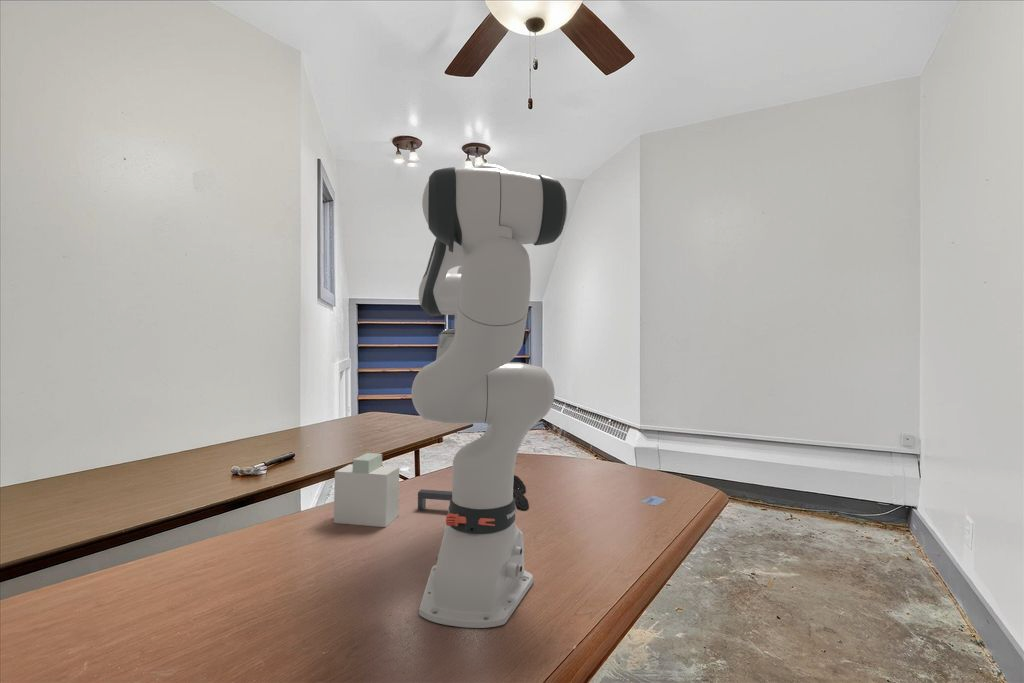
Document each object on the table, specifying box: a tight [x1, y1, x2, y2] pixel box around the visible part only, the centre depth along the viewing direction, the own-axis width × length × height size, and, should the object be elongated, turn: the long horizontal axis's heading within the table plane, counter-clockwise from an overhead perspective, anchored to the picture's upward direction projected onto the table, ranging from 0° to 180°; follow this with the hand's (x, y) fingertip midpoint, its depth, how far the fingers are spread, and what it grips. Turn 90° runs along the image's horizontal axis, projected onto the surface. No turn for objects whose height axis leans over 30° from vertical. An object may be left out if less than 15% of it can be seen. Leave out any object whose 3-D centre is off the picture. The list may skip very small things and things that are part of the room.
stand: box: [333, 452, 400, 528], centre depth 113 cm, size 13×7×15 cm, turn 80°
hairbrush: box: [513, 472, 530, 512], centre depth 133 cm, size 8×4×25 cm
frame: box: [417, 489, 452, 511], centre depth 120 cm, size 10×2×4 cm, turn 80°
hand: (471, 384), depth 119 cm, fingers open, 8 cm apart
